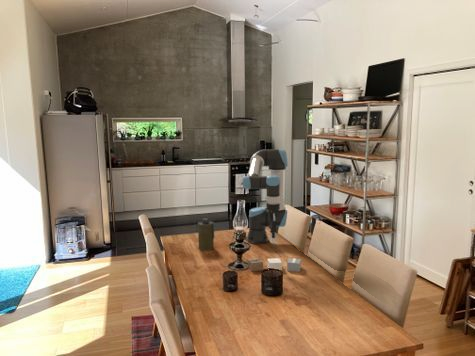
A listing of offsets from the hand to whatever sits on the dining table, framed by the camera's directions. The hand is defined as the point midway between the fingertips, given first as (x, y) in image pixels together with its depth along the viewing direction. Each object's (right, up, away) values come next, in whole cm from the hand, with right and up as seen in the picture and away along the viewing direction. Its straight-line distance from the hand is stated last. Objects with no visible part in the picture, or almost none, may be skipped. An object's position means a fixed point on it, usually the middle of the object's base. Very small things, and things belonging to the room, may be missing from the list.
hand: (273, 242), depth 220 cm
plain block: (+1, -15, -1) cm, 15 cm away
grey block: (+12, -15, -2) cm, 19 cm away
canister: (-41, -10, +36) cm, 56 cm away
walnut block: (-10, -15, -1) cm, 18 cm away
